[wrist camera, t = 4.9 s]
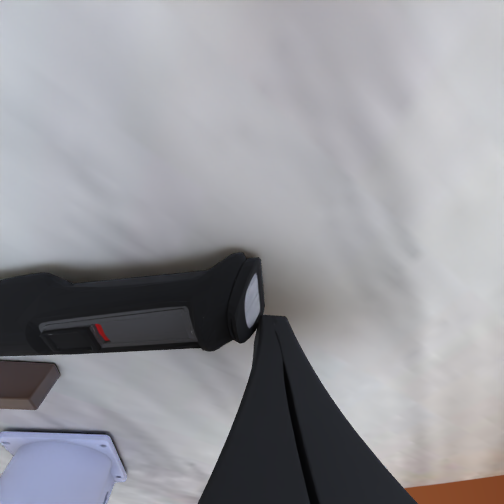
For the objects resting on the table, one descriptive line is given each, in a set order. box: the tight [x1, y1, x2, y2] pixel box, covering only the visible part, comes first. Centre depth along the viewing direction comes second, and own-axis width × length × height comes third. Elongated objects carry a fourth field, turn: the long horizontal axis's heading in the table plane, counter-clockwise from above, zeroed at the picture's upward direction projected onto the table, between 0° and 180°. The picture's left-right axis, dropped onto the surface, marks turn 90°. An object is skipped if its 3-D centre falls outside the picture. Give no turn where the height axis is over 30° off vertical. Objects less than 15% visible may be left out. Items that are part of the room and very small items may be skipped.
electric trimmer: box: [0, 252, 265, 356], centre depth 10 cm, size 4×16×3 cm, turn 95°
